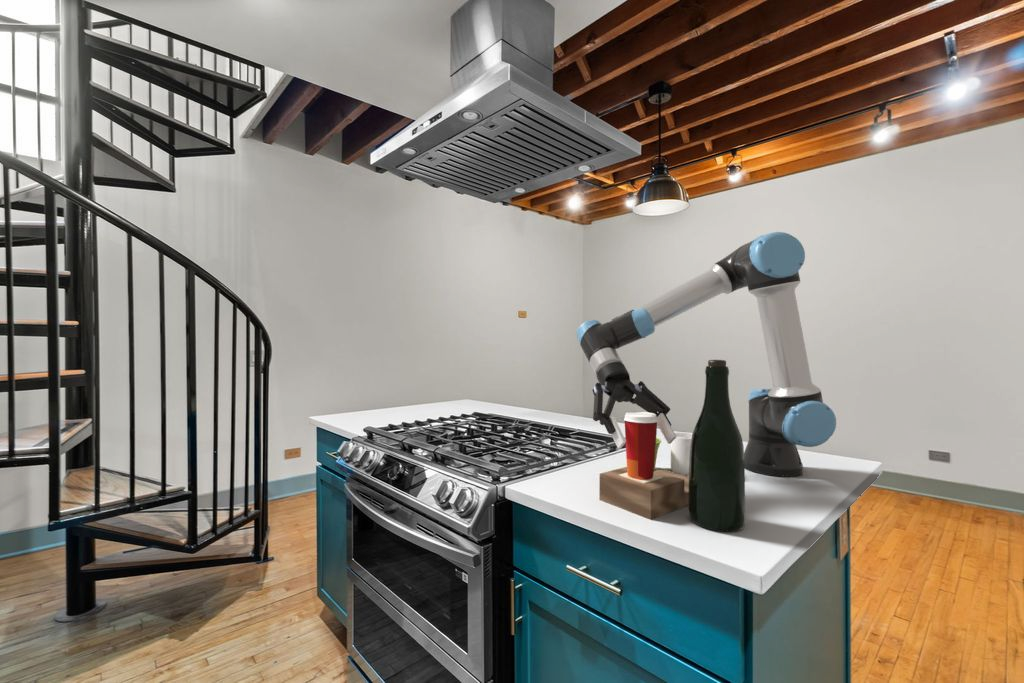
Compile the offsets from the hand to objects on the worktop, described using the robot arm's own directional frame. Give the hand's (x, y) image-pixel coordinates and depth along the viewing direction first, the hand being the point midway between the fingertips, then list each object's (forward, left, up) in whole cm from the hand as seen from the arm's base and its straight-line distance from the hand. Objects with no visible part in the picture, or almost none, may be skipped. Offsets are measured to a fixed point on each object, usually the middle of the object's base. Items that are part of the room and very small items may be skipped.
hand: (648, 442), depth 98 cm
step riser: (-5, -5, -14) cm, 16 cm away
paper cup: (+1, -2, -8) cm, 8 cm away
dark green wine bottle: (-10, +9, -14) cm, 20 cm away
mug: (-22, -22, -14) cm, 34 cm away
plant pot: (-11, -27, -14) cm, 33 cm away
